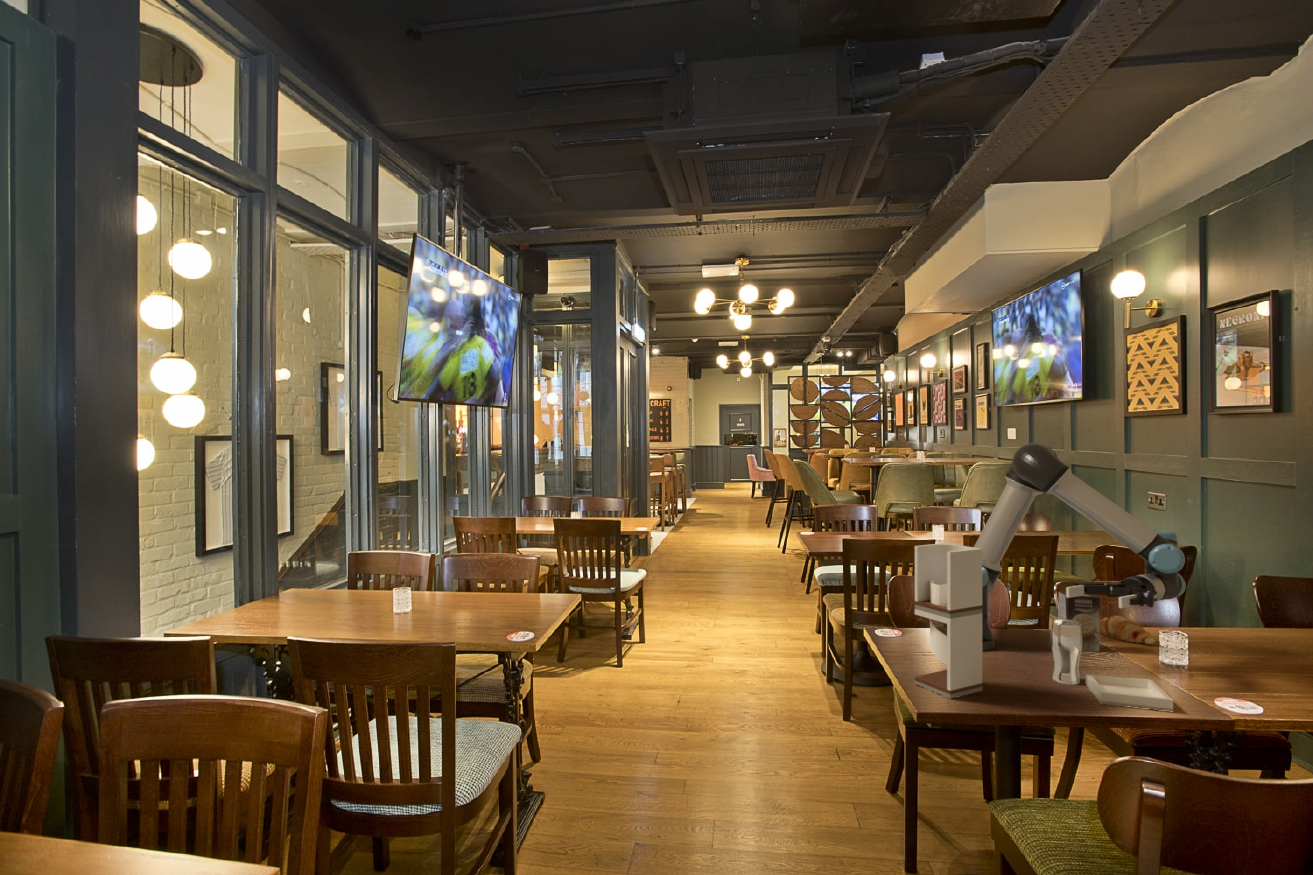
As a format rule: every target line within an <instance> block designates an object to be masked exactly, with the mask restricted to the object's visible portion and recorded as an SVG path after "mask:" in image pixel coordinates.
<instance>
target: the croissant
mask: <svg viewBox="0 0 1313 875" xmlns="http://www.w3.org/2000/svg"><path fill="white" fill-rule="evenodd" d="M1099 629H1100V630H1099V634H1100V633H1101V634H1100V635H1102V634H1103V635H1102V636H1104V635H1105V636H1104V637H1107V636H1109V637H1108V638H1110V639H1111V638H1112V639H1114V640H1117V639H1121V640H1120V641H1122V640H1125V641H1124V642H1129V641H1130V642H1129V643H1134V642H1136V644H1143V645H1151V646H1152V645H1154V644H1156V643H1157V640H1156V639H1155V637H1154V636H1153V634H1151V633H1150V632H1149V631H1146V630H1145V628H1144V627H1143V626H1142V625H1141V624H1136V623H1133V622H1132V621H1131V620H1130V619H1128V618H1126V617H1124V616H1121V615H1117V614H1114V615H1111V616H1110V617H1107V616H1105V617H1103V618H1102V619H1100V628H1099Z"/></svg>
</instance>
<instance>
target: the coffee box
mask: <svg viewBox="0 0 1313 875" xmlns="http://www.w3.org/2000/svg"><path fill="white" fill-rule="evenodd" d="M1057 599H1058V606H1057V608H1058V609H1057V611H1058V612H1057V619H1066V620H1072V621H1076V622H1079V623H1081V629H1082V651H1083V652H1100V633H1099V630H1100V629H1099V628H1100V620H1101V619H1100V618H1101V617H1100V615H1101V613H1100V610H1101V607H1100V606H1101V597H1100V596H1099V595H1094V594H1084V595H1083V596H1082V597H1080V596H1077V597H1071V598H1068V597H1066V591H1061V590H1058V598H1057ZM1082 651H1081V652H1082Z"/></svg>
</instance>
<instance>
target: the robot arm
mask: <svg viewBox="0 0 1313 875" xmlns="http://www.w3.org/2000/svg"><path fill="white" fill-rule="evenodd" d="M1071 469H1072V468H1071V467H1069V466H1068V465H1067V464H1065V463H1064V462H1063V461H1061V460H1060V459H1059V457H1058V455H1057V453H1056V452H1055V451H1054V449H1053V448H1052V447H1050V446H1048V445H1046V444H1044V443H1039V442H1038V443H1037V442H1034V443H1033V442H1031V443H1027V444H1024V445H1022V446H1020V447H1019V448H1018V449H1016V451H1015V453H1014V455H1013V457H1012V461H1011V465H1009V467H1008V469H1007V472H1006V474H1005V476H1004V478H1005V480H1006V485H1005V487H1004V489H1003V491H1002V493H1001V495H1000V496H999V499H998V500H997V502H996V504H995V506H994V508H993V510H992V512H991V514H990V516H989V518H988V519H987V521H986V523H985V525H984V527H983V529H982V531H981V533H980V535H979V537H978V538H977V540H976V542H975V544H974V546H973V547H974V548H980V549H982V652H984V651H990V650H993V649H994V648H995V637H994V634H993V631H992V629H991V626H990V623H989V619H988V618H989V595H990V594H991V592H992V591H993V589H994V587H995V584H996V582H997V581H998V579H999V577H1000V574H1001V573H1002V571H1003V569H1002V566H1001V562H1002V559H1003V557H1004V556H1005V554H1006V552H1007V551H1008V548H1009V546H1010V544H1011V543H1012V541H1013V539H1014V537H1015V535H1016V534H1017V532H1018V530H1019V528H1020V526H1021V524H1022V522H1023V520H1024V519H1025V517H1026V515H1027V513H1028V511H1029V509H1030V507H1031V505H1032V504H1033V502H1034V500H1035V498H1036V497H1037V496H1039V495H1042V494H1044V493H1045V494H1046V495H1049V494H1050V495H1054V496H1055V497H1056V498H1058V499H1059V500H1060V501H1062V502H1063V503H1065V504H1066V505H1068V506H1069V507H1071V508H1072V509H1073V510H1075V511H1076V512H1077V513H1079V514H1080V515H1081V516H1083V517H1084V518H1085V519H1087V520H1089V521H1090V522H1092V523H1093V524H1094V525H1096V526H1097V527H1098V528H1099V529H1101V530H1103V531H1104V532H1105V533H1106V534H1108V535H1110V536H1111V537H1113V538H1114V539H1115V540H1116V541H1118V542H1119V543H1121V544H1122V545H1123V546H1125V547H1126V548H1127V549H1129V550H1131V551H1132V552H1133V553H1135V554H1136V555H1138V556H1139V557H1140V558H1141V559H1143V560H1144V574H1138V575H1137V574H1136V575H1133V576H1126V577H1125V578H1123V579H1122V580H1121V581H1120V582H1119V583H1118V582H1117V583H1109V582H1107V581H1104V582H1073V583H1072V584H1073V585H1072V586H1067V587H1065V592H1066V597H1068V598H1071V597H1077V596H1080V597H1082V596H1083V595H1084V594H1094V595H1096V596H1102V595H1103V596H1107V597H1108V598H1118V608H1119V609H1126V608H1131V607H1138V606H1140V607H1144V606H1145V605H1146V607H1149V608H1154V605H1155V603H1154V602H1158V601H1165V600H1172V599H1175V598H1178V597H1180V596H1182V595H1183V594H1184V592H1185V591H1186V588H1187V584H1186V581H1185V579H1184V577H1183V576H1182V575H1181V574H1180V573H1179V571H1180V570H1182V569H1183V567H1184V566H1185V563H1186V558H1185V554H1184V552H1183V551H1182V549H1181V548H1180V547H1178V543H1179V541H1178V537H1177V536H1178V535H1177V533H1176V532H1175V531H1173V530H1167V529H1152V528H1150V527H1149V526H1147V525H1146V524H1145V523H1143V522H1142V521H1141V520H1139V519H1138V518H1136V517H1134V516H1133V515H1131V513H1129V512H1128V511H1126V510H1125V509H1123V508H1121V507H1120V506H1119V505H1117V504H1116V503H1115V502H1113V501H1112V500H1110V499H1109V498H1107V497H1106V496H1105V495H1103V494H1102V493H1100V492H1099V491H1098V490H1096V489H1095V488H1093V487H1092V486H1090V485H1089V484H1087V483H1086V482H1084V481H1083V480H1082V479H1080V478H1079V477H1077V476H1076V475H1075V474H1073V473H1072V470H1071ZM1111 593H1112V594H1111Z"/></svg>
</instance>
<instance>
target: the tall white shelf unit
mask: <svg viewBox="0 0 1313 875" xmlns="http://www.w3.org/2000/svg"><path fill="white" fill-rule="evenodd" d="M914 615H916V616H919V617H923V618H925V619H926V618H927V619H928V620H929V648H930V651H931V652H932V655H934V656H935V658H936V659H938V660H939V661H940V662H941V663H942V664H944V665H946V669H943V670H938V671H934V672H930V673H926V674H922V675H917V676H914V684H915V683H916V684H918V685H920V686H922V687H924V688H926V689H931V690H933V691H935V692H937V693H940V694H941V695H944V696H948V697H949V698H951V697H956V696H962V697H964V696H963V695H966V696H968V695H967V694H970V695H972V694H971V693H974V692H978V691H982V692H983V651H982V549H980V548H974V546H973V547H972V546H968V545H959V544H953V543H947V542H944V543H943V542H942V543H932V544H922V545H914ZM924 688H923V689H924ZM926 689H925V690H926ZM978 693H979V692H978ZM974 694H975V693H974ZM941 695H940V696H941Z"/></svg>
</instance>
